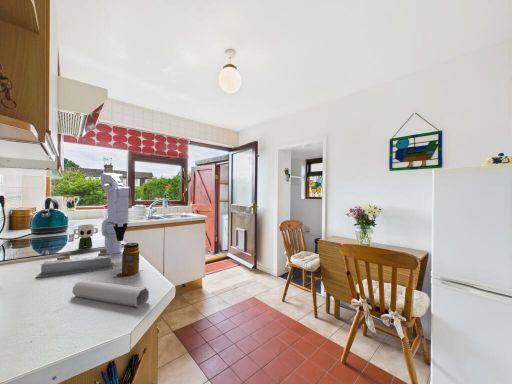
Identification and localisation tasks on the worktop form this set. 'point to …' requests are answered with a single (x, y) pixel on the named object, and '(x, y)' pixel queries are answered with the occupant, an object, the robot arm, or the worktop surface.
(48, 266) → the rail
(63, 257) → the rail stand
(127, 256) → the condiment
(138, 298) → the tube
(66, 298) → the worktop surface
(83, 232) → the character mug
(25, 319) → the worktop surface
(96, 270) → the mat
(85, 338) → the worktop surface
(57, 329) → the worktop surface
